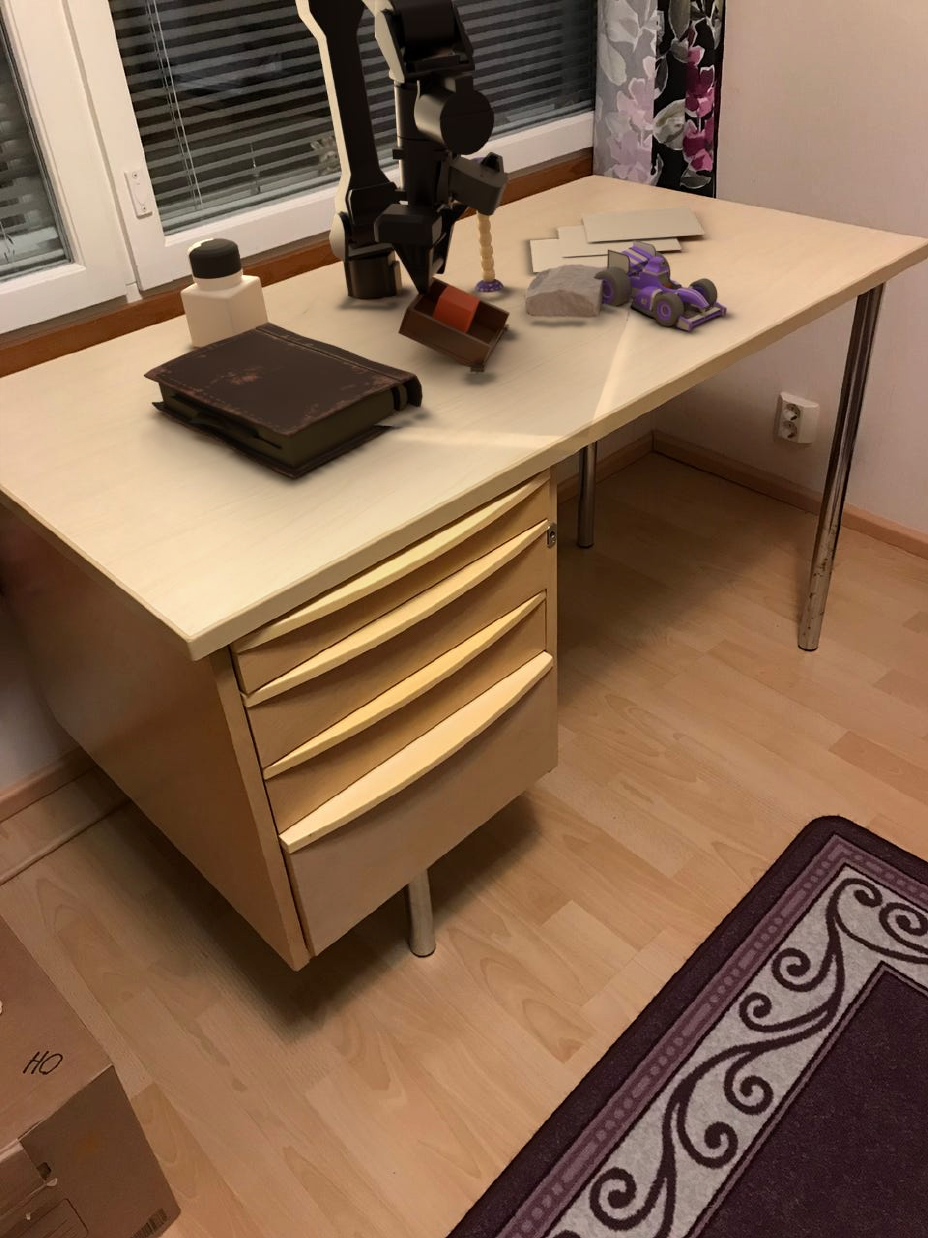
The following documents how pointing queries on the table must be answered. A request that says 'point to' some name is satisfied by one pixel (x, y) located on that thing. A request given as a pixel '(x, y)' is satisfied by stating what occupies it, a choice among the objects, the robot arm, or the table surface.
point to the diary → (283, 396)
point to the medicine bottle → (220, 293)
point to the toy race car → (656, 287)
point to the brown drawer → (446, 338)
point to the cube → (456, 308)
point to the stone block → (566, 292)
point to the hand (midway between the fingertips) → (431, 283)
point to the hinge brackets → (483, 367)
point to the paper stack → (614, 236)
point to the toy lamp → (486, 254)
